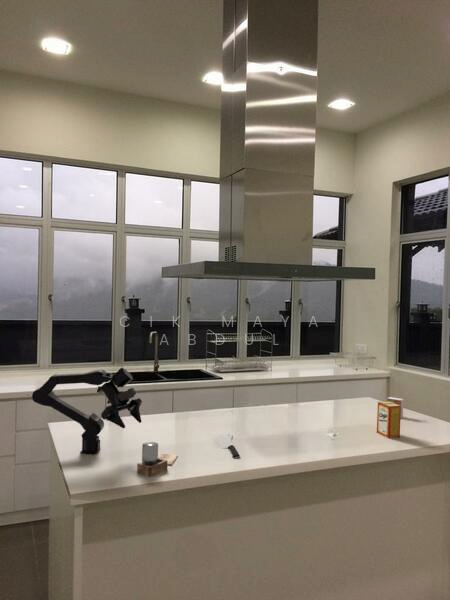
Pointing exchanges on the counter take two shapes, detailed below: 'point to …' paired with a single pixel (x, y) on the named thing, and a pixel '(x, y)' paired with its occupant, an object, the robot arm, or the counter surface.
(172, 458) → the mat
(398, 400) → the small box
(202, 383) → the counter surface
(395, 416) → the baking soda box
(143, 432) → the counter surface
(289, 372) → the counter surface
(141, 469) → the cubby
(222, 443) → the kitchen cleaver
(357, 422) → the counter surface
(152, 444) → the canister
